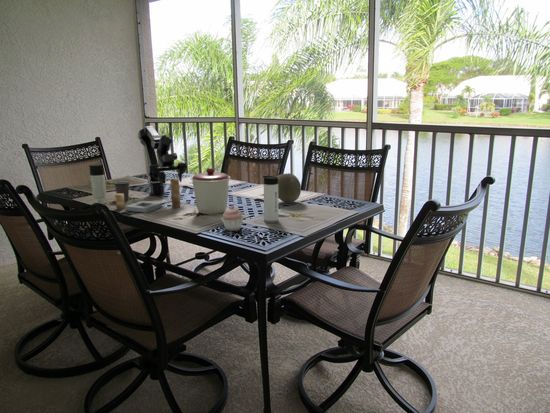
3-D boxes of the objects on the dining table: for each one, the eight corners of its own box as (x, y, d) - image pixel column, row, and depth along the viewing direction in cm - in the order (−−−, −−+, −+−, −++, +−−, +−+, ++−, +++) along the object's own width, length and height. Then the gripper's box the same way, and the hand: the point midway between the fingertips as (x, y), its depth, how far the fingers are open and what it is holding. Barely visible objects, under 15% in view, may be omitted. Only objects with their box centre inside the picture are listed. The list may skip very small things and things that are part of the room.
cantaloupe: (286, 198, 231) (286, 170, 227) (306, 202, 221) (306, 173, 217) (267, 202, 221) (267, 173, 217) (287, 207, 211) (287, 177, 208)
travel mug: (262, 219, 191) (262, 174, 186) (277, 218, 192) (277, 174, 187) (263, 223, 185) (263, 177, 180) (279, 222, 186) (278, 176, 181)
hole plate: (126, 210, 208) (125, 206, 208) (142, 204, 219) (142, 200, 218) (146, 212, 203) (145, 208, 203) (162, 206, 214) (161, 202, 214)
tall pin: (170, 207, 212) (168, 179, 209) (175, 205, 216) (173, 178, 212) (177, 208, 211) (175, 180, 207) (182, 206, 214) (180, 178, 211)
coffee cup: (134, 198, 232) (133, 180, 229) (123, 202, 224) (121, 183, 222) (123, 197, 235) (121, 179, 232) (111, 200, 228) (109, 181, 225)
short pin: (114, 208, 211) (113, 194, 209) (120, 207, 214) (119, 193, 213) (121, 209, 209) (119, 195, 207) (126, 207, 213) (125, 193, 211)
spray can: (110, 202, 224) (106, 163, 219) (101, 205, 218) (96, 165, 213) (99, 201, 226) (95, 163, 221) (90, 204, 220) (85, 165, 215)
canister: (197, 207, 213) (194, 164, 208) (233, 207, 213) (232, 164, 208) (188, 217, 196) (186, 170, 191) (228, 217, 195) (227, 170, 190)
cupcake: (217, 230, 175) (216, 206, 173) (227, 224, 184) (227, 201, 181) (238, 233, 172) (237, 208, 170) (247, 226, 181) (247, 203, 178)
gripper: (147, 148, 210) (155, 174, 204) (184, 146, 219) (193, 171, 213) (144, 163, 219) (152, 188, 212) (180, 160, 228) (188, 184, 221)
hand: (171, 182), depth 214 cm, fingers open, 9 cm apart
